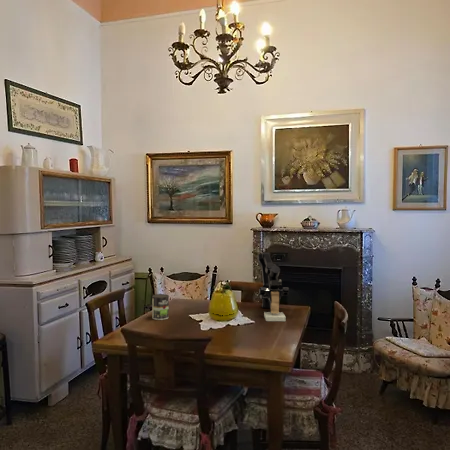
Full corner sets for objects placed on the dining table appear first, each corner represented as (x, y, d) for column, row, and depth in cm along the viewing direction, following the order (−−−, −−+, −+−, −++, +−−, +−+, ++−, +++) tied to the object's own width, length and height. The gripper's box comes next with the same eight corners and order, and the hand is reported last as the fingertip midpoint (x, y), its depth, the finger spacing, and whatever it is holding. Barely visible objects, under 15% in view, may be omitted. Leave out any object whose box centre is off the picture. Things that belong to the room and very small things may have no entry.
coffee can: (171, 318, 270) (171, 296, 269) (156, 321, 264) (156, 298, 263) (163, 314, 278) (163, 293, 277) (149, 317, 272) (149, 295, 271)
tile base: (264, 315, 278) (264, 312, 277) (282, 316, 278) (282, 312, 278) (266, 321, 266) (266, 317, 265) (285, 321, 266) (285, 317, 266)
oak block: (270, 311, 274) (271, 291, 273) (277, 311, 274) (278, 291, 273) (271, 313, 269) (271, 292, 268) (278, 313, 269) (279, 292, 268)
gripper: (259, 274, 274) (261, 295, 264) (289, 274, 274) (291, 295, 264) (258, 284, 282) (259, 305, 272) (286, 284, 283) (289, 305, 272)
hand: (275, 302), depth 270 cm, fingers closed on oak block, 4 cm apart
